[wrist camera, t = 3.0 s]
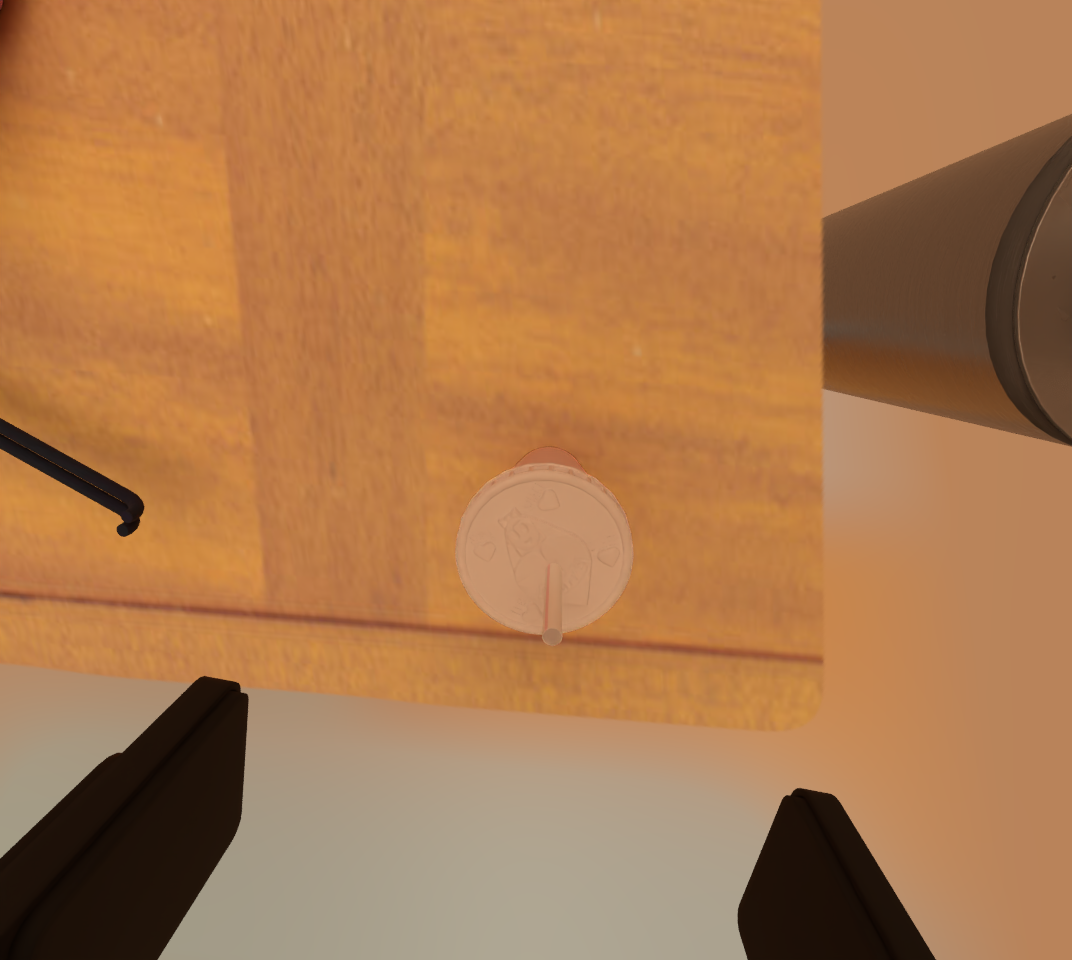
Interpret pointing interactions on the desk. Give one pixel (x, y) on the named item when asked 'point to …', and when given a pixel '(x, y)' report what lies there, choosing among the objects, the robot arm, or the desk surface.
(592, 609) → the smoothie
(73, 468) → the hook tool
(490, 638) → the desk surface
